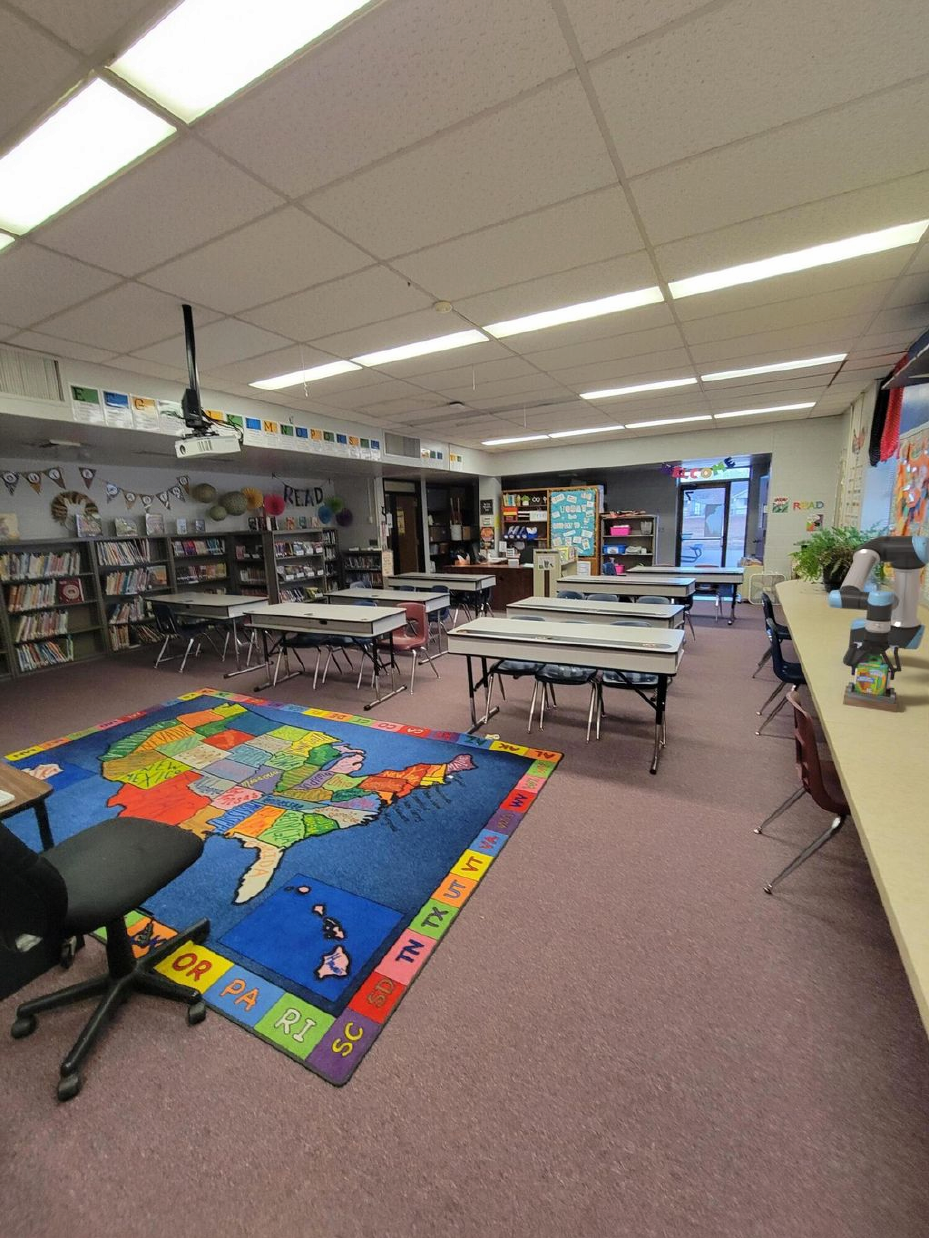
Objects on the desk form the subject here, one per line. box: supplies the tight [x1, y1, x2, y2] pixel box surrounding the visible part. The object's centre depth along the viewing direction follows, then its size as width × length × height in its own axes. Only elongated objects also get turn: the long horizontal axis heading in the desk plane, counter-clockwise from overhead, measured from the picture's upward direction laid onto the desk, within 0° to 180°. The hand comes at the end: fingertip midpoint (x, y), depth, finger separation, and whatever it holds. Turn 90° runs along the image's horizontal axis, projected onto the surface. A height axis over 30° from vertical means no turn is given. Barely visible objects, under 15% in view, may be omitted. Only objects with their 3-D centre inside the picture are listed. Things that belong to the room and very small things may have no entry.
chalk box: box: [855, 655, 890, 696], centre depth 195 cm, size 9×9×15 cm
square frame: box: [842, 681, 898, 713], centre depth 196 cm, size 16×16×5 cm
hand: (871, 685), depth 196 cm, fingers closed on chalk box, 9 cm apart
